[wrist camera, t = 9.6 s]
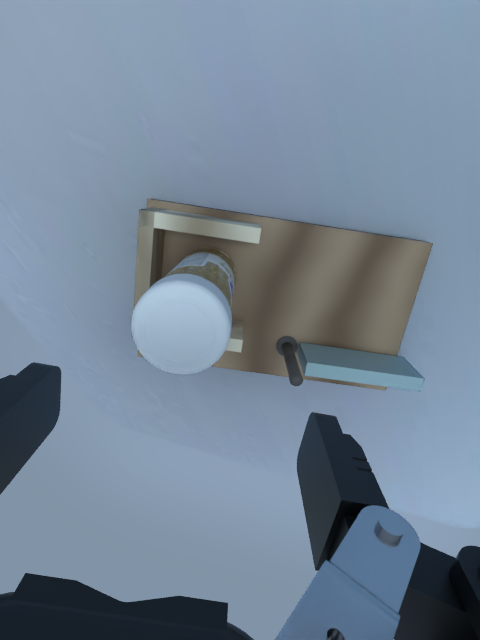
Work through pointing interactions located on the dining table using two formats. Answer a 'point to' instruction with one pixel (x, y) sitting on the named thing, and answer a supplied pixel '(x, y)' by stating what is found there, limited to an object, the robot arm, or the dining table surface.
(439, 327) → the dining table surface
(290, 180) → the dining table surface
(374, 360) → the bar
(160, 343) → the sprinkles bottle
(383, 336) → the socket board
